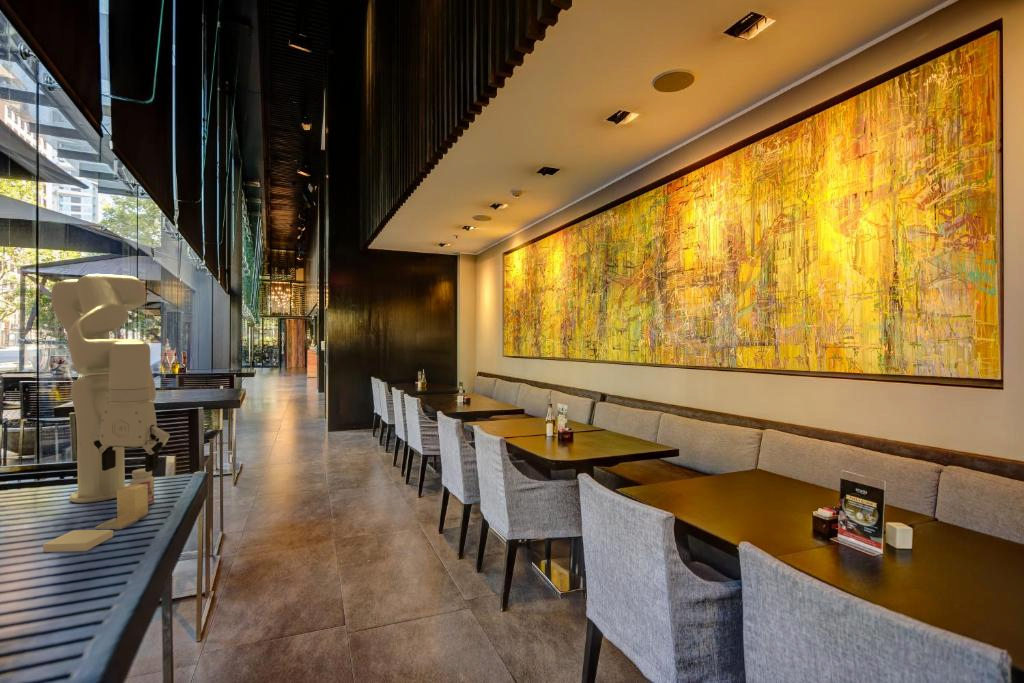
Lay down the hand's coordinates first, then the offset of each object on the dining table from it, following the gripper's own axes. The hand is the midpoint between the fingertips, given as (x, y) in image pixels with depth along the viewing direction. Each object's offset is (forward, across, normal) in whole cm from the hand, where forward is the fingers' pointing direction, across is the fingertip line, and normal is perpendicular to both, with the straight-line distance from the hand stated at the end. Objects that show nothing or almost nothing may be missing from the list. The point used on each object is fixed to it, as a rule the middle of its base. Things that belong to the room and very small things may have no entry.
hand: (130, 469), depth 115 cm
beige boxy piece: (+11, +1, -3) cm, 11 cm away
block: (+10, +1, -12) cm, 15 cm away
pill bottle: (+12, -3, +8) cm, 15 cm away
